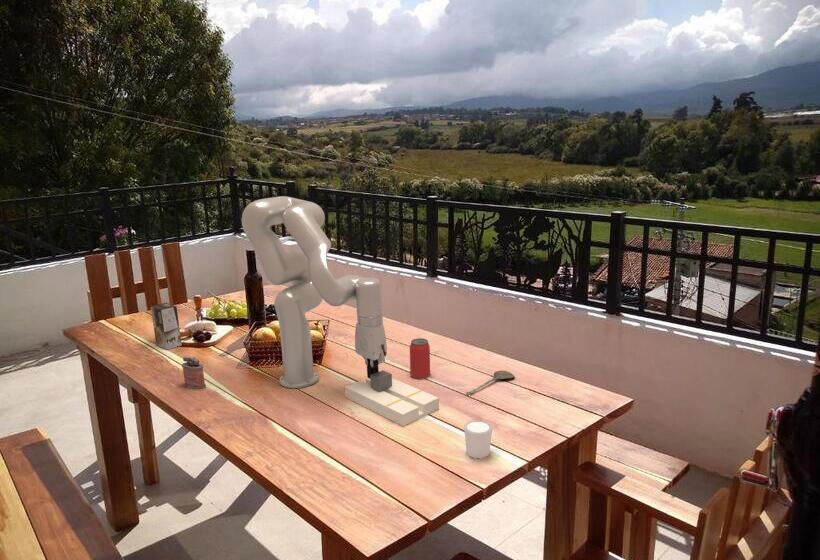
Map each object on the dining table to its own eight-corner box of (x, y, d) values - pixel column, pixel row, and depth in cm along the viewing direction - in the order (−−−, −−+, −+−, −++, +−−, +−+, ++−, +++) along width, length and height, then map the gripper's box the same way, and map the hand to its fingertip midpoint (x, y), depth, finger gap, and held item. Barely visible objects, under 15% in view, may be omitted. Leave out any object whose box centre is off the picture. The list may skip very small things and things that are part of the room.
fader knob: (371, 395, 169) (370, 375, 168) (383, 389, 173) (382, 370, 171) (379, 399, 167) (378, 378, 165) (392, 393, 170) (391, 373, 168)
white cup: (461, 446, 143) (461, 420, 141) (488, 444, 143) (488, 419, 141) (466, 461, 136) (466, 434, 134) (494, 458, 136) (495, 432, 135)
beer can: (428, 380, 182) (427, 345, 179) (408, 379, 184) (407, 344, 181) (431, 372, 189) (431, 338, 186) (412, 371, 190) (411, 337, 187)
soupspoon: (519, 380, 183) (503, 375, 188) (519, 370, 183) (503, 365, 187) (476, 399, 168) (459, 394, 173) (476, 389, 168) (459, 383, 172)
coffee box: (182, 345, 221) (177, 305, 217) (166, 350, 216) (160, 309, 212) (171, 340, 226) (166, 302, 223) (155, 345, 222) (149, 305, 218)
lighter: (208, 386, 182) (204, 357, 180) (200, 390, 179) (196, 361, 177) (189, 382, 186) (186, 354, 183) (181, 386, 183) (177, 357, 180)
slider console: (345, 397, 172) (344, 386, 171) (380, 383, 181) (380, 372, 180) (403, 426, 153) (402, 414, 152) (438, 409, 163) (438, 397, 162)
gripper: (344, 317, 170) (348, 374, 174) (376, 328, 159) (379, 388, 164) (364, 312, 175) (367, 367, 179) (396, 321, 164) (398, 380, 169)
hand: (373, 377), depth 171 cm, fingers closed
